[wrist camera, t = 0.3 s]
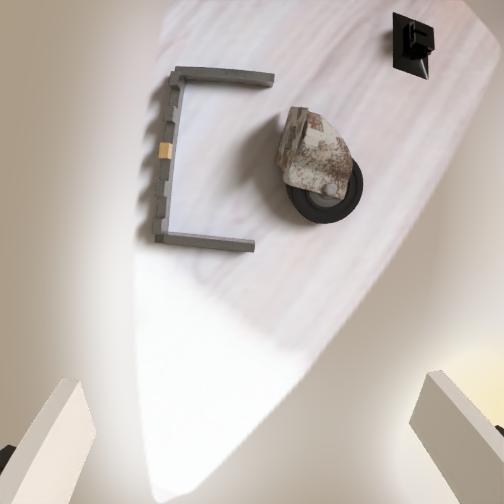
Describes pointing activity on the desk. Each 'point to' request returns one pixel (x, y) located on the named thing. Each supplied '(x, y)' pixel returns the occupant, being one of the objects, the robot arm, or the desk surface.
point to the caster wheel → (318, 168)
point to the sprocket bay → (169, 150)
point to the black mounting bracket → (412, 45)
